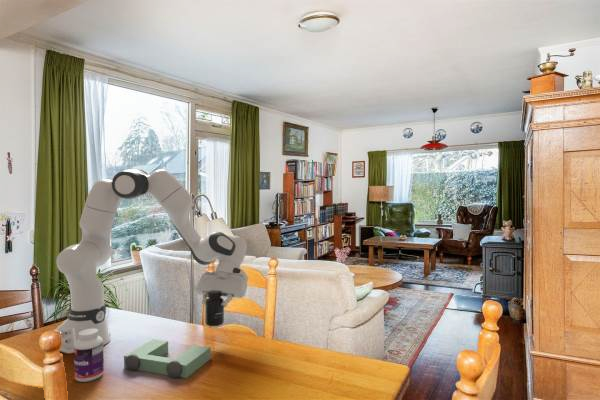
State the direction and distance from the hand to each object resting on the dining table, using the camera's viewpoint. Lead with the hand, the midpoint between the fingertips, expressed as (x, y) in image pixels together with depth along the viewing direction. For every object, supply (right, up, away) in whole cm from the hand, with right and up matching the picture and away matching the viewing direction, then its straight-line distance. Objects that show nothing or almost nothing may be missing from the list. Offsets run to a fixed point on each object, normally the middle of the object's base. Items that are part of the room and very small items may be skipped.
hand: (213, 305), depth 141 cm
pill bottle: (-34, -17, -22) cm, 44 cm away
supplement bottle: (0, -7, +1) cm, 7 cm away
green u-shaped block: (-12, -16, -13) cm, 24 cm away
